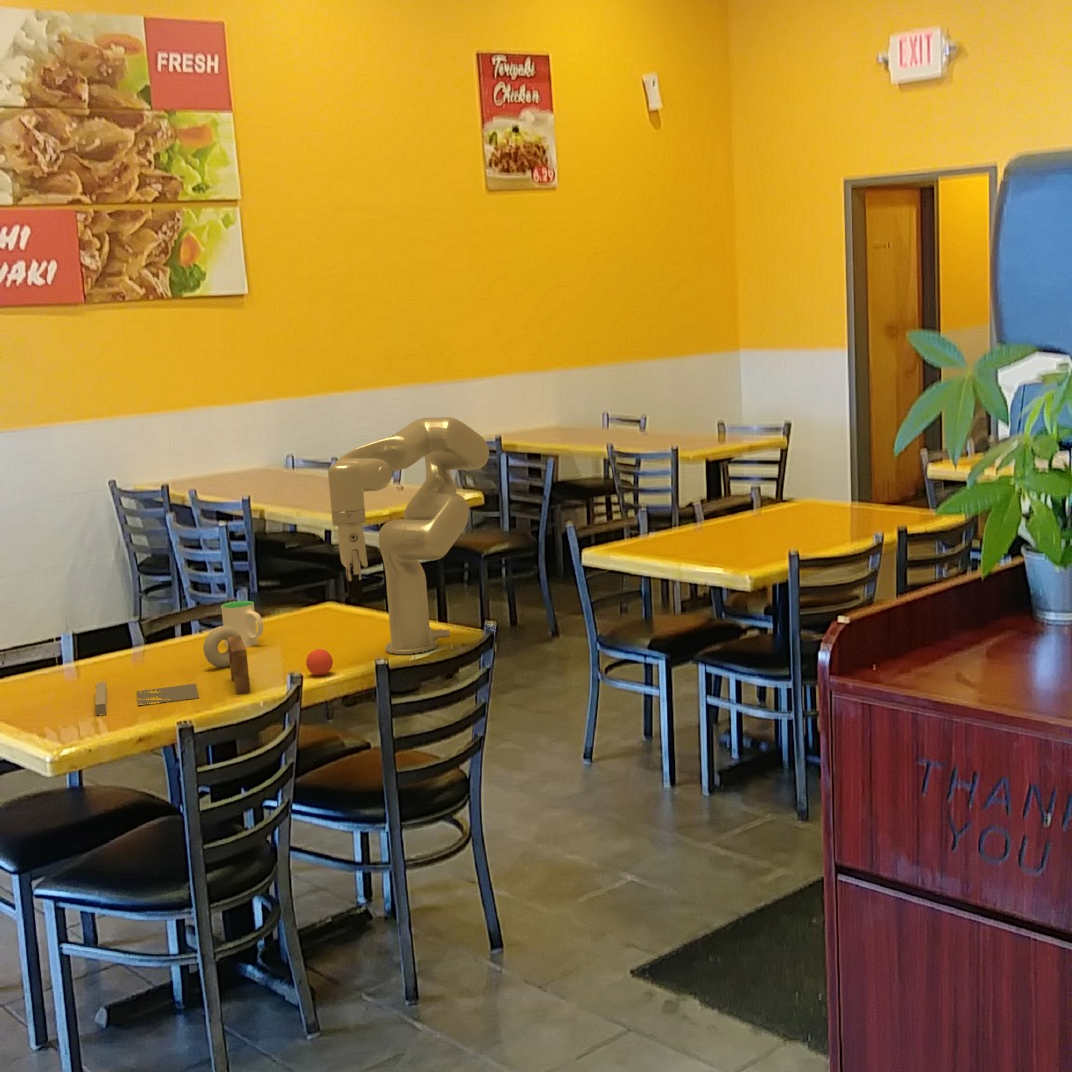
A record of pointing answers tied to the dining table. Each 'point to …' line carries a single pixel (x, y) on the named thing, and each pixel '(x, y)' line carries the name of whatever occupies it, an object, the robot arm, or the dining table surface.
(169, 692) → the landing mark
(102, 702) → the stopper wall
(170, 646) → the dining table surface
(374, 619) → the dining table surface
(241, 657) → the bridge
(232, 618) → the mug
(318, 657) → the ball
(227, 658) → the donut
